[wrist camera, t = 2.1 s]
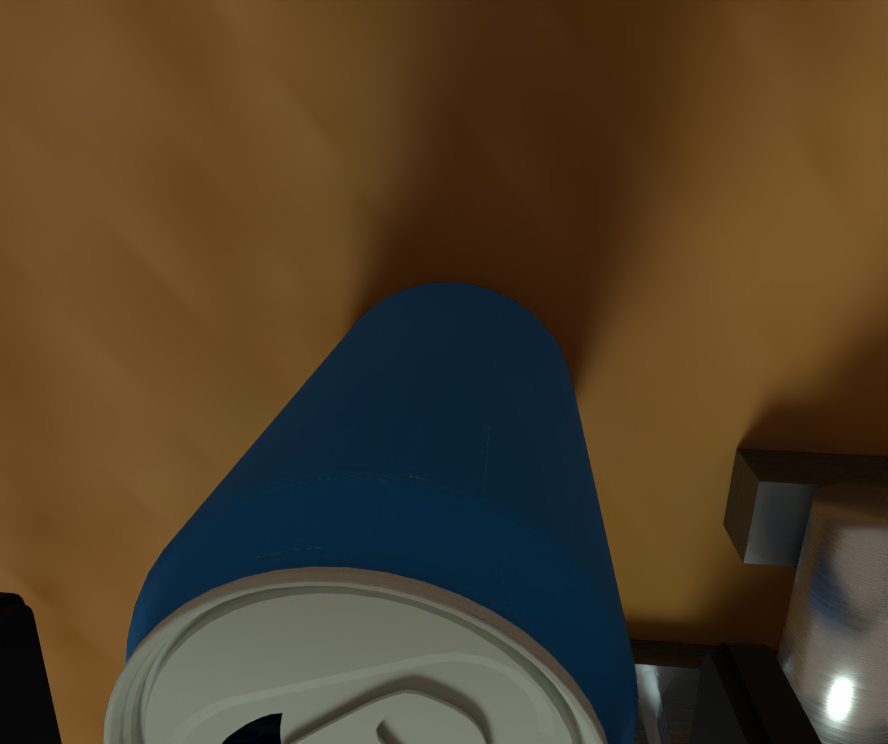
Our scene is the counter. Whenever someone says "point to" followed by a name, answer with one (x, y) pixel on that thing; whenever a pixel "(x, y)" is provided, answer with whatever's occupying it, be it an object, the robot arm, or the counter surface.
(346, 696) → the beverage can
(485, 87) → the counter surface
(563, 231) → the counter surface
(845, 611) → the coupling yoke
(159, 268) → the counter surface
